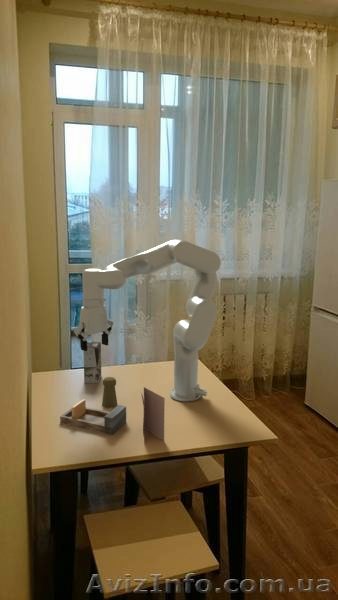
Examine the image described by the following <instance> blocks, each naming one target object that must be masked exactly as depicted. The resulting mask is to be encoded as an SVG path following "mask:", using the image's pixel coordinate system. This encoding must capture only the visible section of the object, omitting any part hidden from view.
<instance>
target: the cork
mask: <svg viewBox="0 0 338 600" xmlns="http://www.w3.org/2000/svg"><path fill="white" fill-rule="evenodd" d="M116 384H117V380H116V378H115V377H113V376H107V377H104V378H103V380H102V386H103V391H102V392H103V393H102V399H101V400H102V401H101V407H102V408H105V409H114V408H115V407H117V406H118V405H119V404H118V399H117V394H116V393H117V392H116V386H117V385H116Z"/></svg>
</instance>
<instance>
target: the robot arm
mask: <svg viewBox="0 0 338 600" xmlns="http://www.w3.org/2000/svg"><path fill="white" fill-rule="evenodd" d="M176 263H178V264H181V265H183V266H185V267H188V268H190V269H193V270H194V273H195V279H194V284H193V287H192V289H191V292H190V293H189V296H188V299H187V301H186V304H185V313H186V314H187V315H188V316H189V317H190V319H181V320H179V321H177V322H176V324H175V325H174V326H173V327H174V328H173V332H172V333H173V334H172V336H173V338H172V339H173V347H174V363H173V365H174V369H173V379H174V380H173V389H171V390H170V392H169V396H170V397H171V398H172V399H174V400H175V401H178V402H194V401H197V400H199V399H200V398H201V397H202V396H203V397H207V395H208V391H207V389H205V388H201V387H200V384H199V383H198V377H199V376H198V372H199V368H198V366H199V350H201V349H203V348H204V346H205V345H206V343H208V342H207V341H208V340H209V338H210V336H211V333H212V330H213V328H214V325H215V323H216V320H217V317H218V308H217V306H216V304H215V302H214V301H213V300H212V299H213V296H214V293H215V290H216V288H217V285H218V284H217V282H218V277H217V272H218V270H219V269H220V267H221V265H222V263H221V258H220V256H219V254H218V253H216V252H215V251H213V250H209V249H207V248H204V247H201V246H199V245H196V244H195V243H191V242H190V241H187V240H183V239H179V238H178V239H177V238H176V239H172V240H169V241H166V242H164V243H162V244H160V245H157V246H156V247H153V248H150V249H147V250H146V251H144V252H141V253H138V254H135V255H133V256H128V257H126V258H123V259H121V260H118V261H116V262H114V263H111V264H110V265H107V266H106V267H105V268H103V270H102V269H100V268H87V269H86V268H85V269H84V270H83V271H82V273H81V274H82V275H81V276H82V305H83V306H81V308H80V312H79V322H78V323H79V325H78V326H77V327H76V328H75V329H74V330H73V333H74V335H75V336H76V338H78V340H79V341H80V346H79V347H80V350H81V351H83V352H84V351H87V342H88V340H87V338H88V336H90V335H94V334H98V333H99V334H100V333H101V345H104V346H109V335H111V334H110V333H111V332H112V329H113V328H112V327H113V325H114V322H113V321H112V320H110V319H108V311H107V309H106V308H107V307H106V305H105V302H106V300H107V299H106V297H105V291H104V290H105V289H106V290H120V289H121V288H123V287H124V285H126V282H127V279H129V278H131V277H135V276H139V275H151V274H154V273H157V272H158V271H161V270H164V269H165V268H167V267H170V266H173V265H174V264H176Z"/></svg>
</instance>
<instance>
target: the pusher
mask: <svg viewBox="0 0 338 600" xmlns="http://www.w3.org/2000/svg"><path fill="white" fill-rule="evenodd" d="M86 403H87V402H86V399H84V398H83V399H81V400H80V401H78V402H77V403H76V404H74V405H72V406H71V409H72V418H76V419H78V418H79V417H80V416H82V415H83V414H84V413H86V407H87V405H86Z"/></svg>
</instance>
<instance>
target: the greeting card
mask: <svg viewBox="0 0 338 600" xmlns="http://www.w3.org/2000/svg"><path fill="white" fill-rule="evenodd" d="M140 394H141V400H142V405H143V417H142V418H143V421H142V422H143V423H142V434H143V437H145V430H147V432H150V433H152V434H153V435H155V436H156V438H157V437H158V438H159V439H161V440H162V441H165V397H164V396H162V395H160V394H158V393H156V392H154V391H153V390H150V389H148V388H146V387H144V386H143V393H142V392H140Z"/></svg>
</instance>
